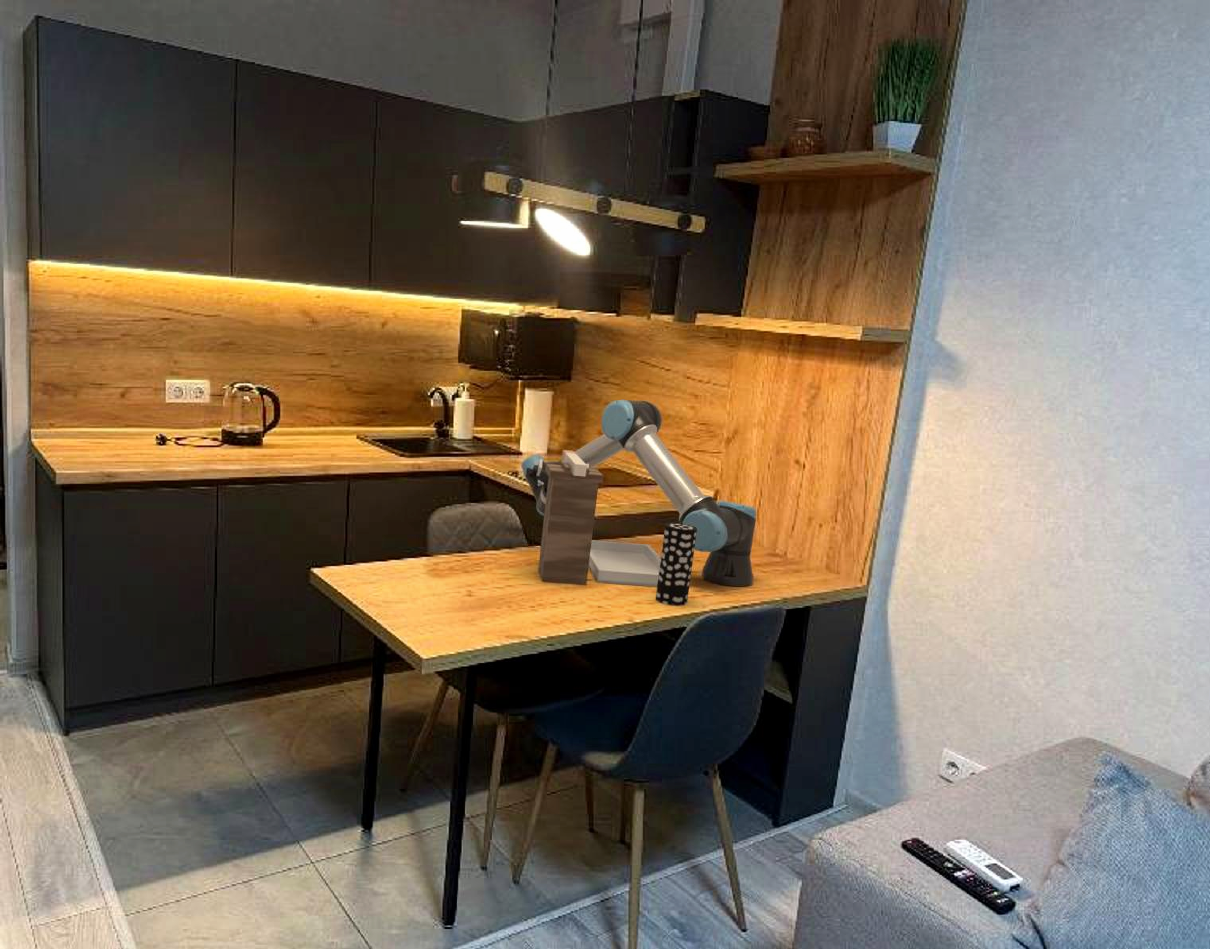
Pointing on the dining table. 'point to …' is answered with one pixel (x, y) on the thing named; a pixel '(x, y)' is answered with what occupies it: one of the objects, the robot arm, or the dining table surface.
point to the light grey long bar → (574, 463)
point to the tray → (624, 563)
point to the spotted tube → (676, 564)
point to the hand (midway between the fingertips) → (564, 465)
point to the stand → (568, 524)
